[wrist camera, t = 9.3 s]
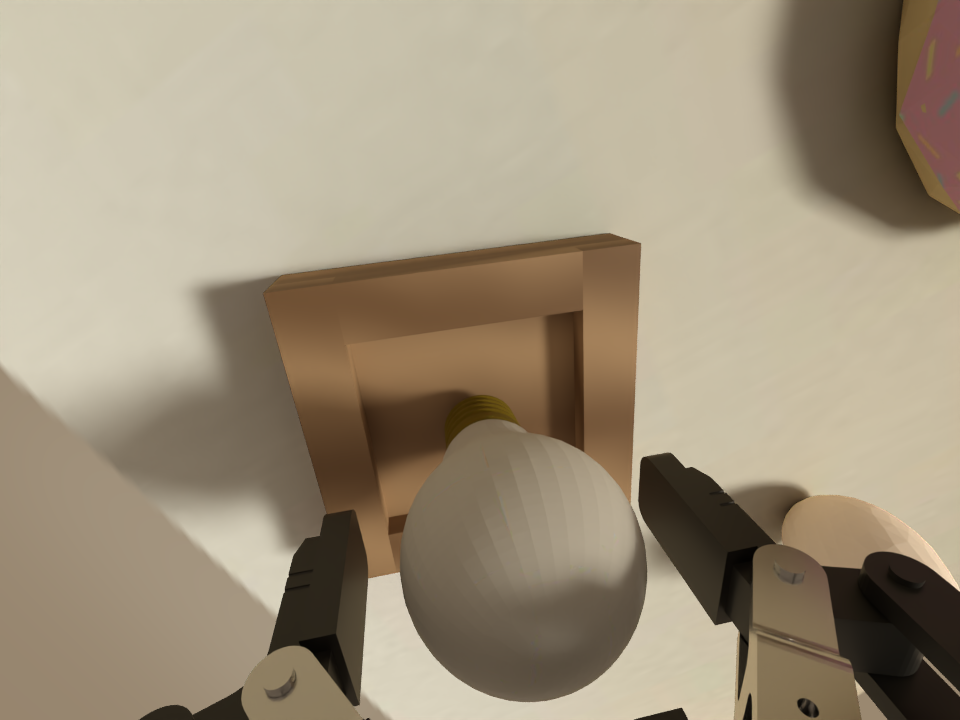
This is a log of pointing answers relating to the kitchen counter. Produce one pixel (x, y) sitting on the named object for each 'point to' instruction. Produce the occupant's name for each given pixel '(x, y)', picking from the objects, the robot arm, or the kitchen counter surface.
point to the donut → (931, 94)
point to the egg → (853, 533)
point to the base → (456, 364)
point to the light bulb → (521, 559)
